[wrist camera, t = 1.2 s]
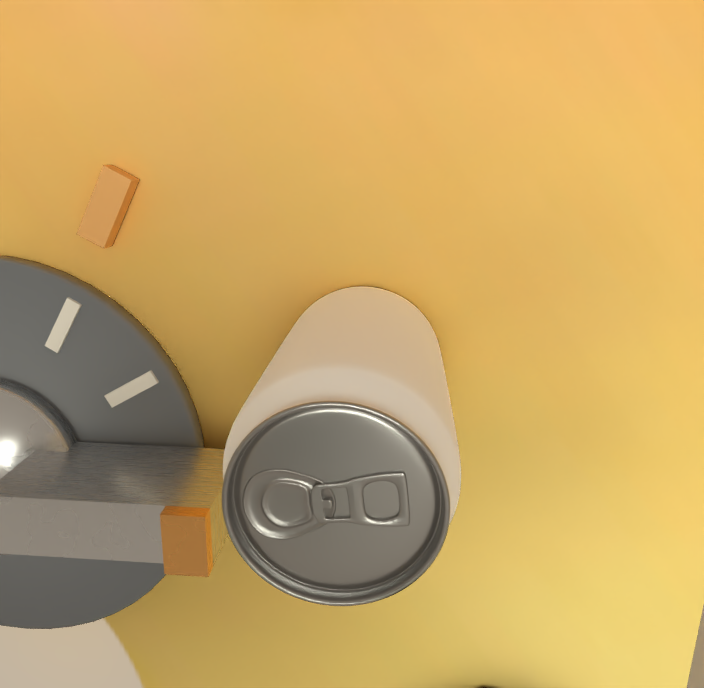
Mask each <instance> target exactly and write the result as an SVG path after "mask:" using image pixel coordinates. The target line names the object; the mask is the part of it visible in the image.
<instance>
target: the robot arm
mask: <svg viewBox="0 0 704 688" xmlns="http://www.w3.org/2000/svg"><path fill="white" fill-rule="evenodd" d="M687 688H704V606H703V611H702V616H701V621H700V626H699V630H698V635H697V640H696V645H695V650H694V655H693V660H692V665H691V669H690V674H689V679H688V684H687Z"/></svg>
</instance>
